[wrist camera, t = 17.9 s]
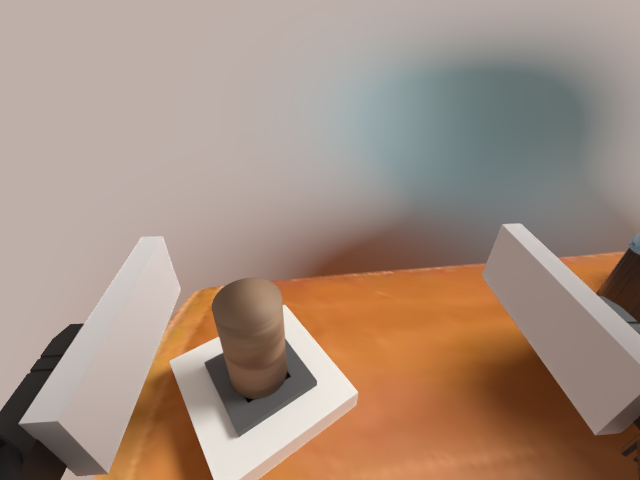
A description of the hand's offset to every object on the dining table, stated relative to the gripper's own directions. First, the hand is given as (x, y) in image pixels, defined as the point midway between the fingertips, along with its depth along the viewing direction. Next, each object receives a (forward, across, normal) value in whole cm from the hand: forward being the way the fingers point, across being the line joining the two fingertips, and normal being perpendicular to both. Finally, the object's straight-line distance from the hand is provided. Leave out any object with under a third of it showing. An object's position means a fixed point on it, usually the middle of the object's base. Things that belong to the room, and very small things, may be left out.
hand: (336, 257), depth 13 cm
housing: (+13, -7, -31) cm, 35 cm away
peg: (+13, -7, -31) cm, 34 cm away
